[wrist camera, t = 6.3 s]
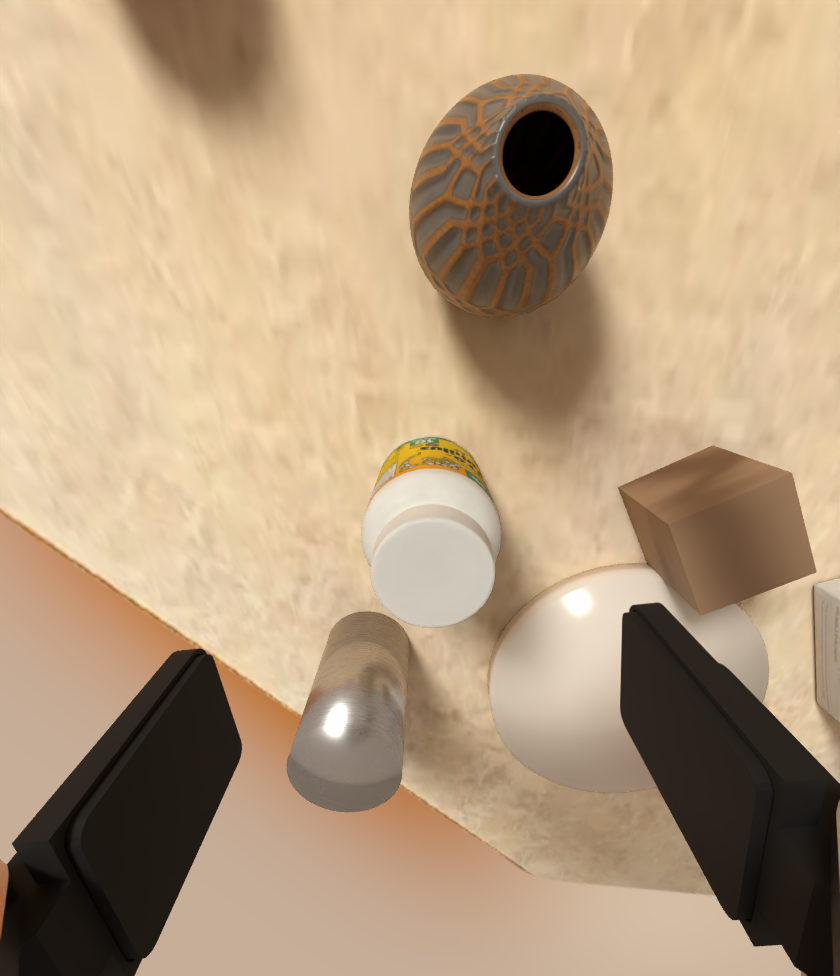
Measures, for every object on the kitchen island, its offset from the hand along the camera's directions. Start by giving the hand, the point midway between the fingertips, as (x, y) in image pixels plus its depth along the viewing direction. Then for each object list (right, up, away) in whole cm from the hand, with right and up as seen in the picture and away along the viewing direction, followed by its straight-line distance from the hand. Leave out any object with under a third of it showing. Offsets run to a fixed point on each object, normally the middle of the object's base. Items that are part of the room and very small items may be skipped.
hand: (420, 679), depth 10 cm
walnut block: (+14, +3, +13) cm, 19 cm away
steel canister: (-3, -5, +16) cm, 17 cm away
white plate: (+12, -7, +17) cm, 22 cm away
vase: (+3, +15, +9) cm, 18 cm away
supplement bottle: (+1, +5, +13) cm, 14 cm away
